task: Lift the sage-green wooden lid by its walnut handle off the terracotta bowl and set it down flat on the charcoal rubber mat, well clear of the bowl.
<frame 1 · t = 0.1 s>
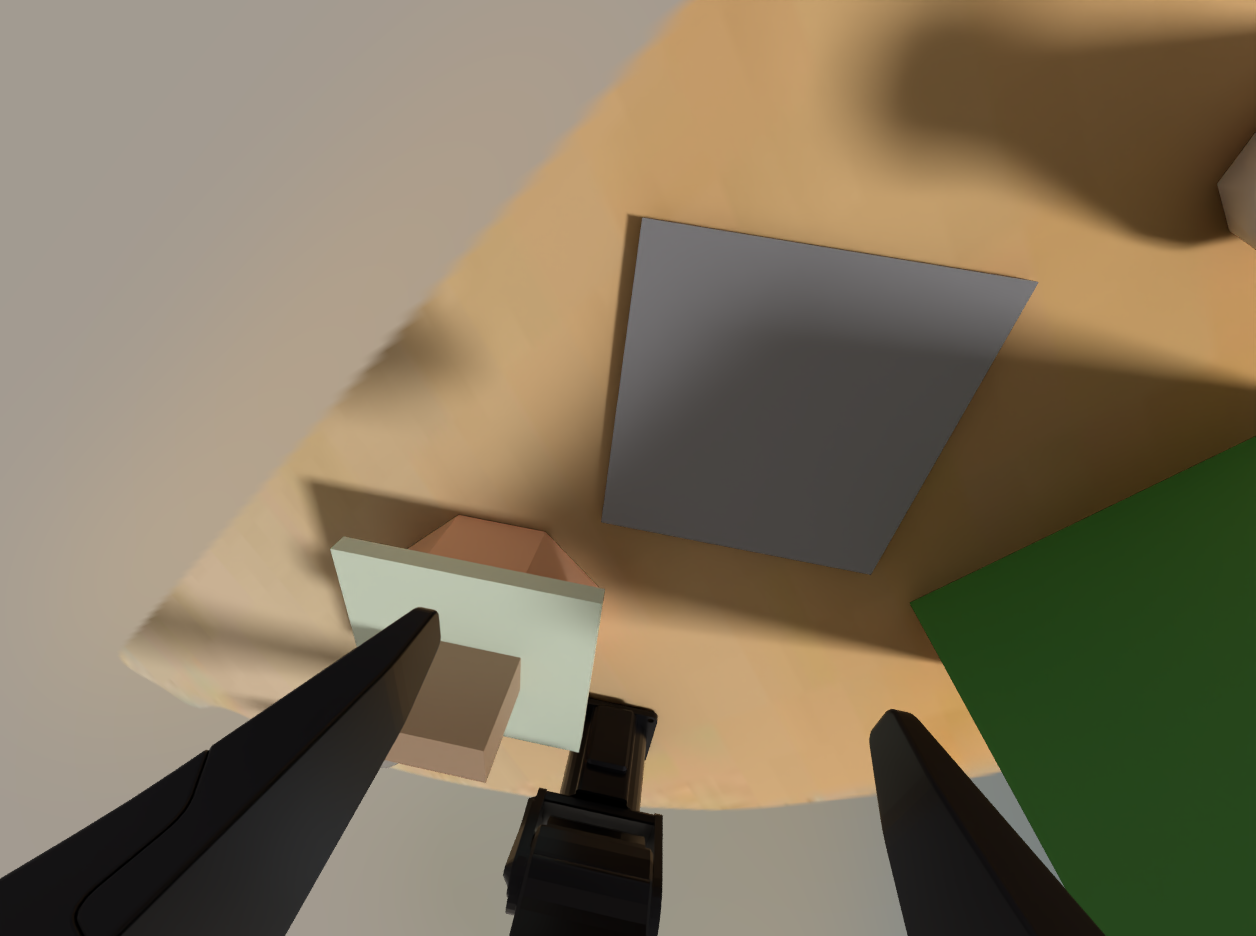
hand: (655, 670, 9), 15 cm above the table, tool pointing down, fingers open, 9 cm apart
bowl: (502, 598, 30), on the table
hardback book: (1112, 561, 23), on the table
mat: (773, 421, 21), on the table
lid: (477, 648, 27), point 4 cm above the table, touching bowl
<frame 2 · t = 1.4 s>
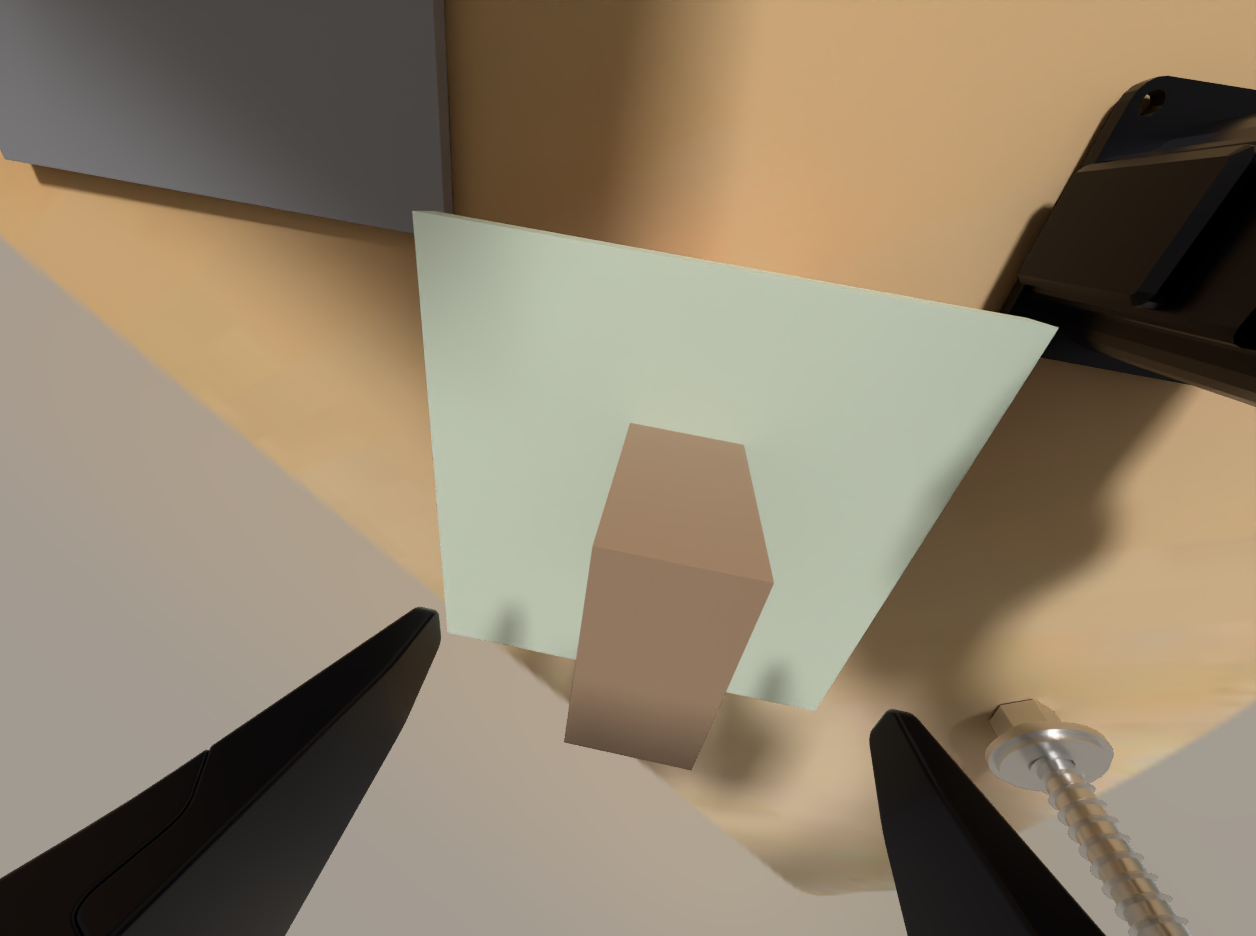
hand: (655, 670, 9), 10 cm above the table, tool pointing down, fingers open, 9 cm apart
screw: (1017, 711, 22), on the table
lid: (666, 505, 14), point 4 cm above the table, touching bowl
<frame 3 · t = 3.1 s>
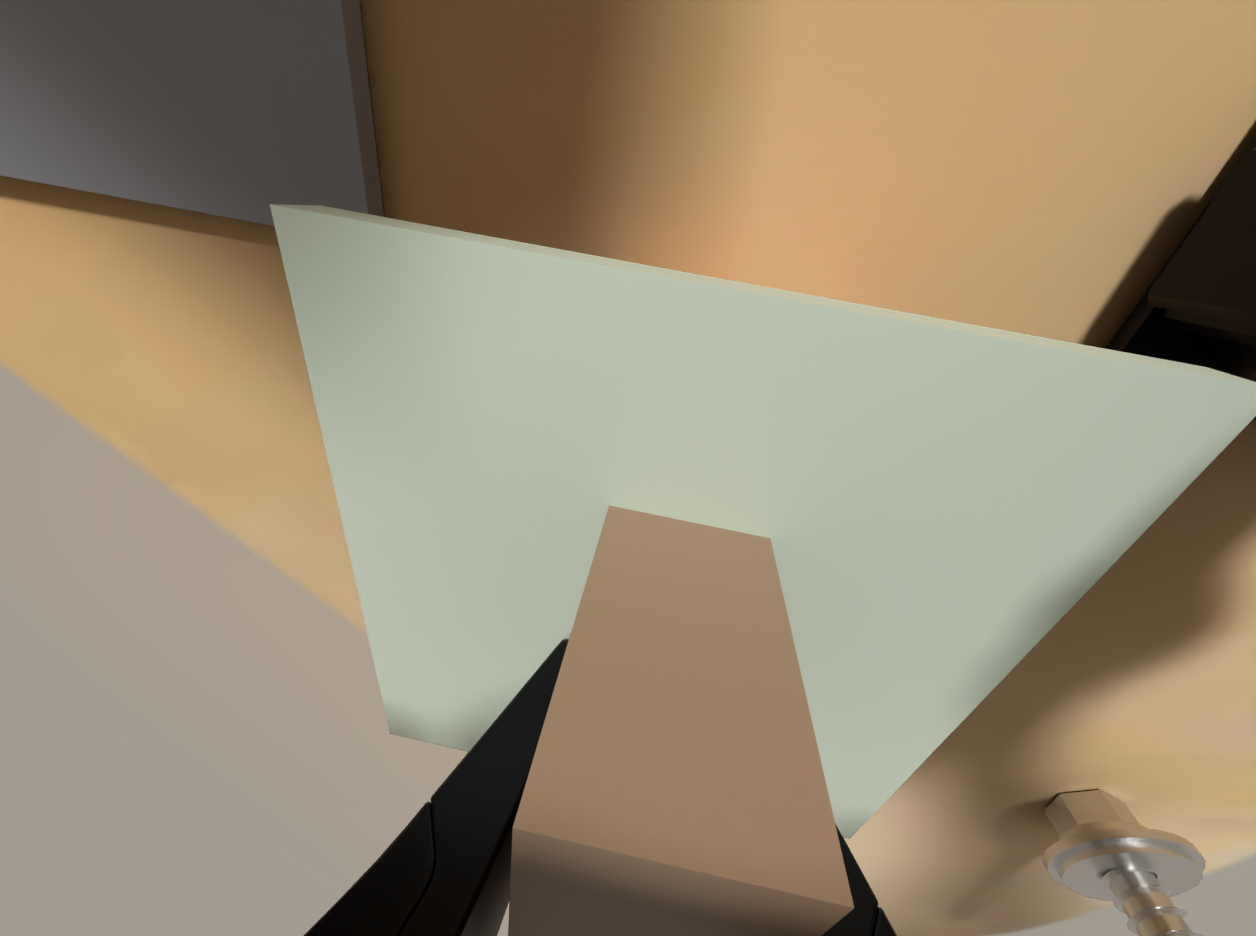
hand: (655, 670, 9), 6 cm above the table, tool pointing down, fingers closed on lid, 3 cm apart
screw: (1078, 799, 19), on the table
lid: (661, 595, 11), point 4 cm above the table, touching bowl, gripper
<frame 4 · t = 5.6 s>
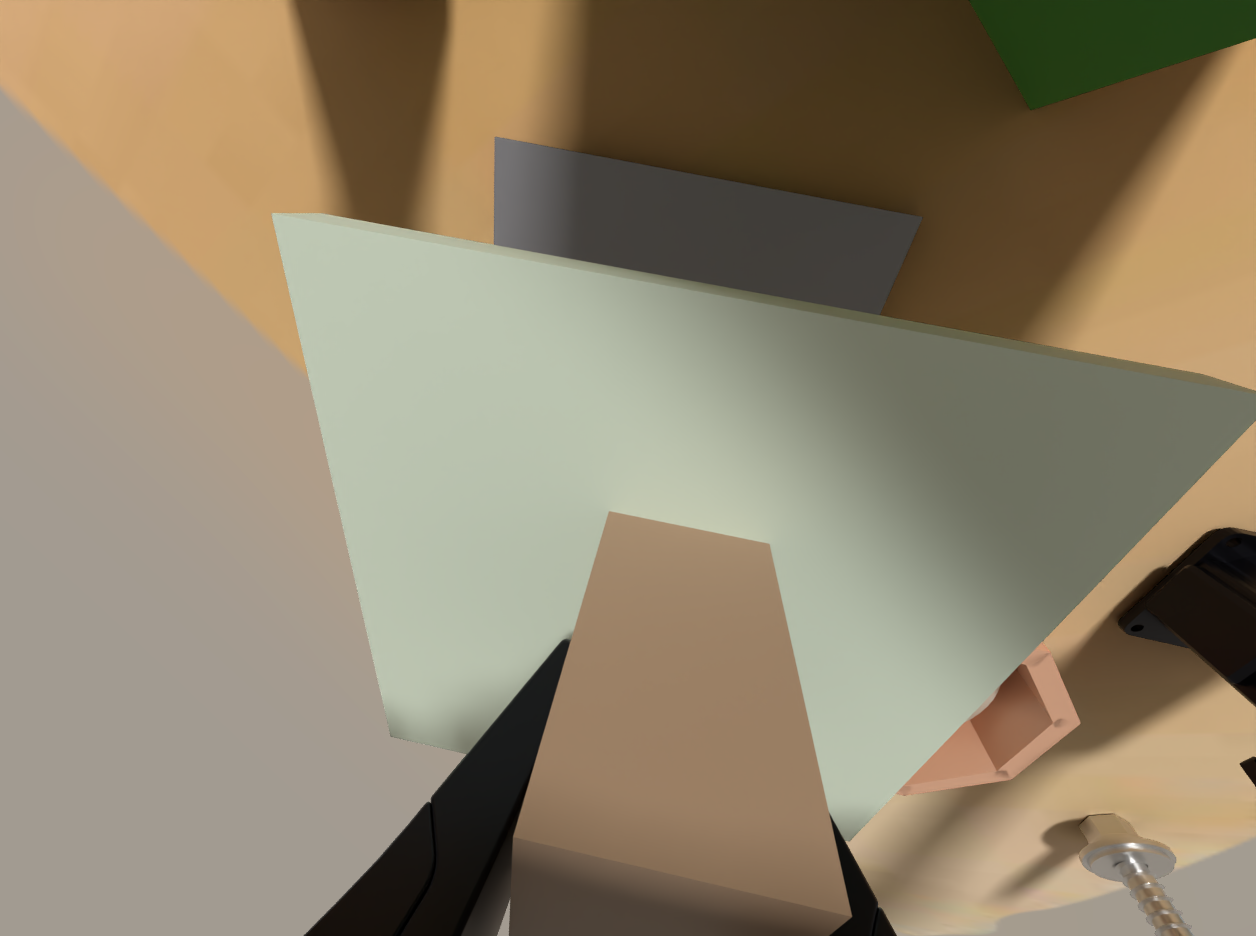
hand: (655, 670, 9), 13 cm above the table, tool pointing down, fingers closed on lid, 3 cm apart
bowl: (884, 654, 26), on the table
screw: (1100, 819, 31), on the table
mat: (661, 377, 20), on the table
lid: (661, 600, 11), point 11 cm above the table, touching gripper
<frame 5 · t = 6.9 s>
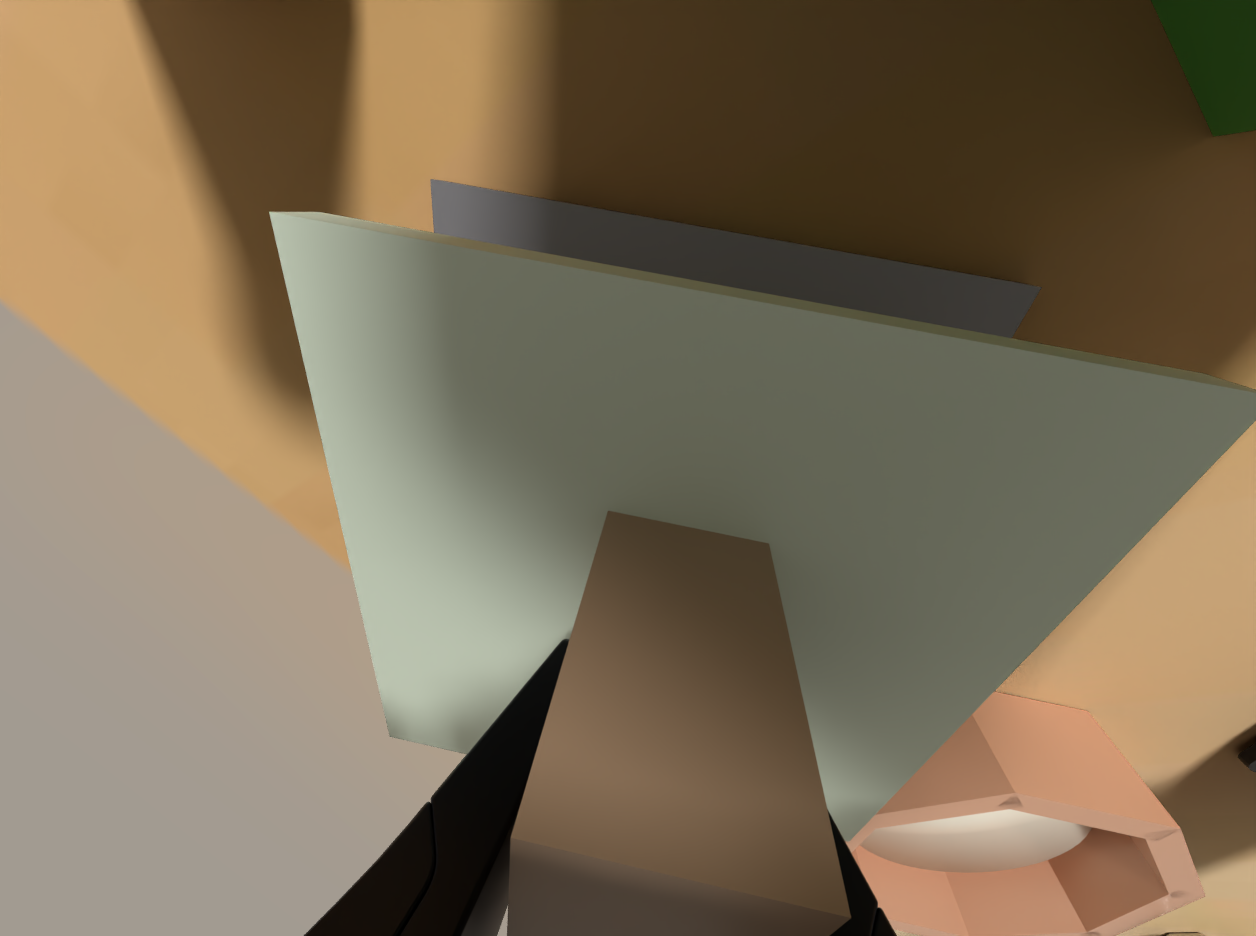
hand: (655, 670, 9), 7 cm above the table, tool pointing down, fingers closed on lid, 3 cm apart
bowl: (940, 775, 21), on the table
screw: (1181, 935, 27), on the table
mat: (669, 477, 15), on the table
lid: (661, 599, 11), point 5 cm above the table, touching gripper
when the fingers open (4 cm above the table, at t = 8.2 s): lid stays where it is, resting on mat.
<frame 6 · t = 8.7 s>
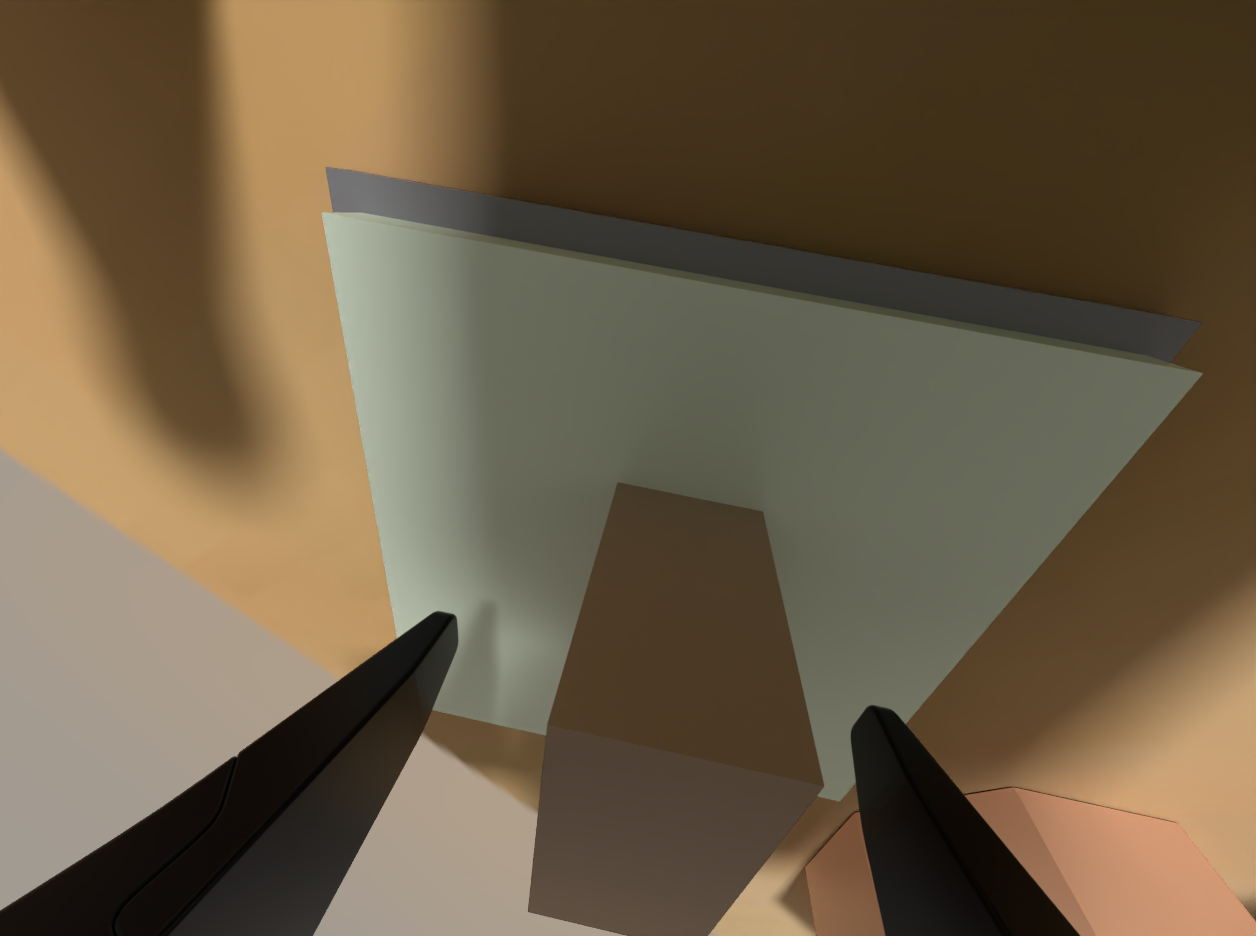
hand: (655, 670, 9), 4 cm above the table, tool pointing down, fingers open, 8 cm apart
bowl: (986, 878, 18), on the table
mat: (664, 551, 12), on the table
lid: (664, 570, 11), point 1 cm above the table, touching mat
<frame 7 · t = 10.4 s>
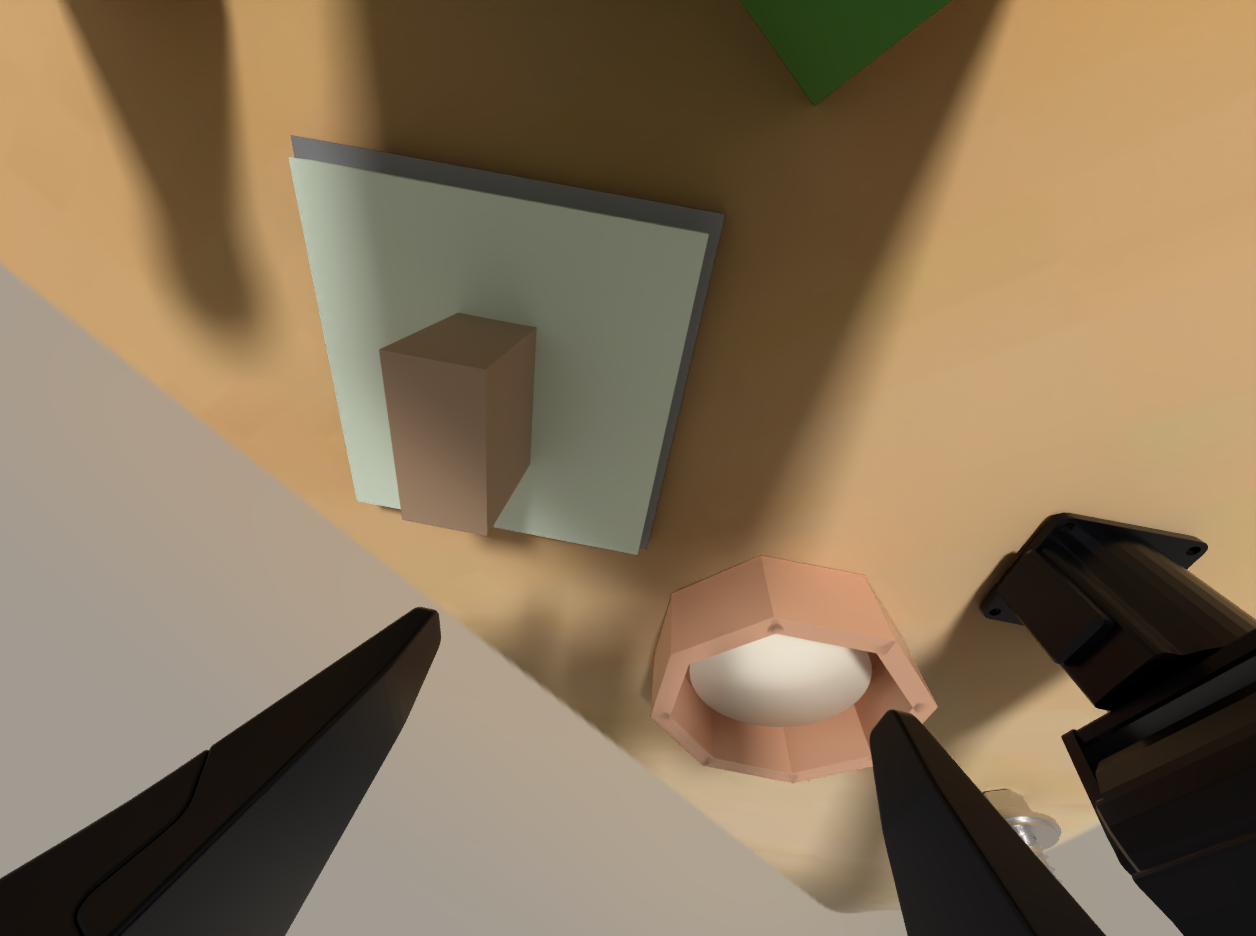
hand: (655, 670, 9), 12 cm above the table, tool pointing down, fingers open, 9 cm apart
bowl: (771, 645, 26), on the table
screw: (997, 795, 32), on the table
mat: (509, 378, 19), on the table
lid: (505, 386, 19), point 1 cm above the table, touching mat
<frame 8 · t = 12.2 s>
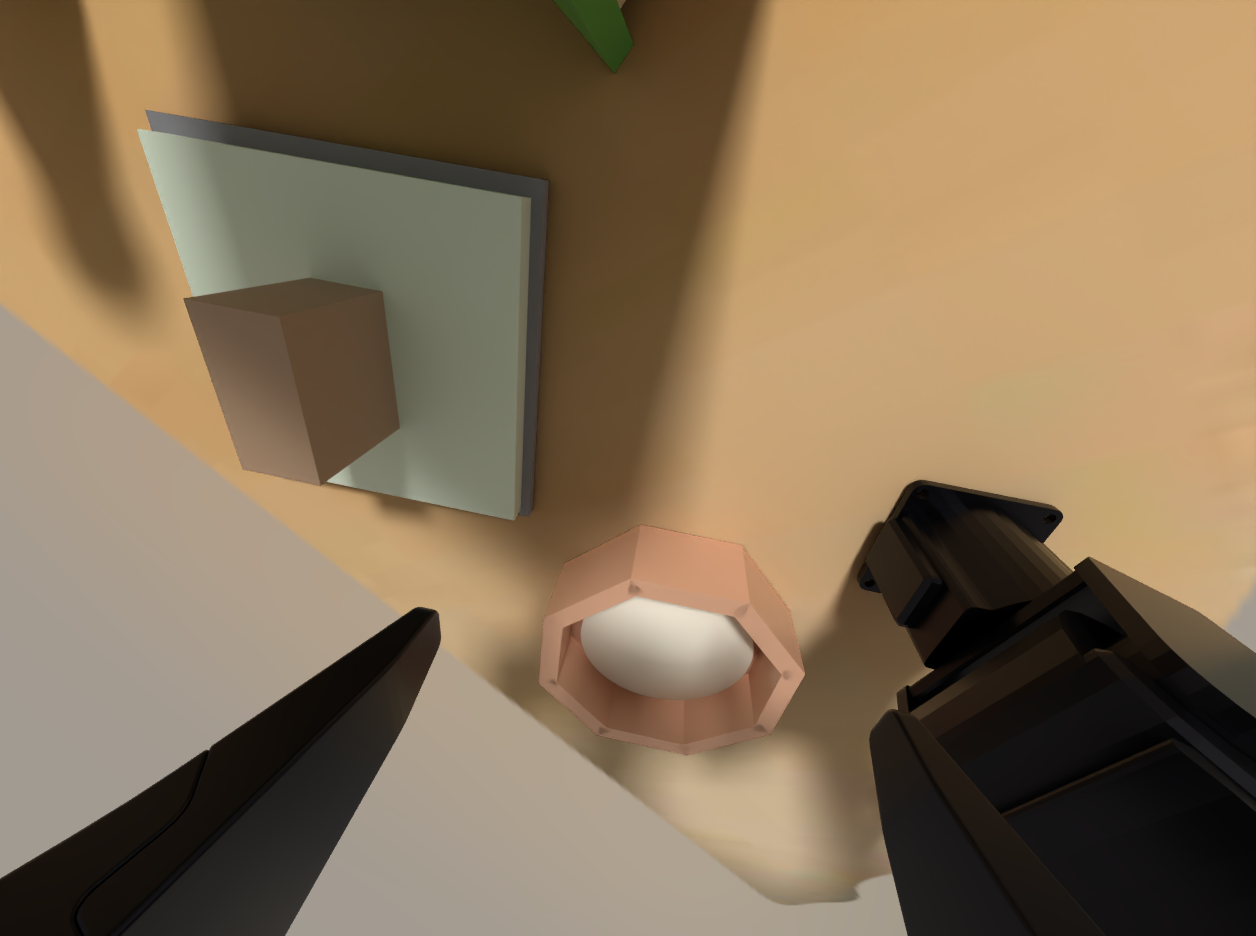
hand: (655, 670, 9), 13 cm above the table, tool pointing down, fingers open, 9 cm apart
bowl: (666, 618, 27), on the table
mat: (379, 346, 20), on the table
lid: (372, 352, 20), point 1 cm above the table, touching mat
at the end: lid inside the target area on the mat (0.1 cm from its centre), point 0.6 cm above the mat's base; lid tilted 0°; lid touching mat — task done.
